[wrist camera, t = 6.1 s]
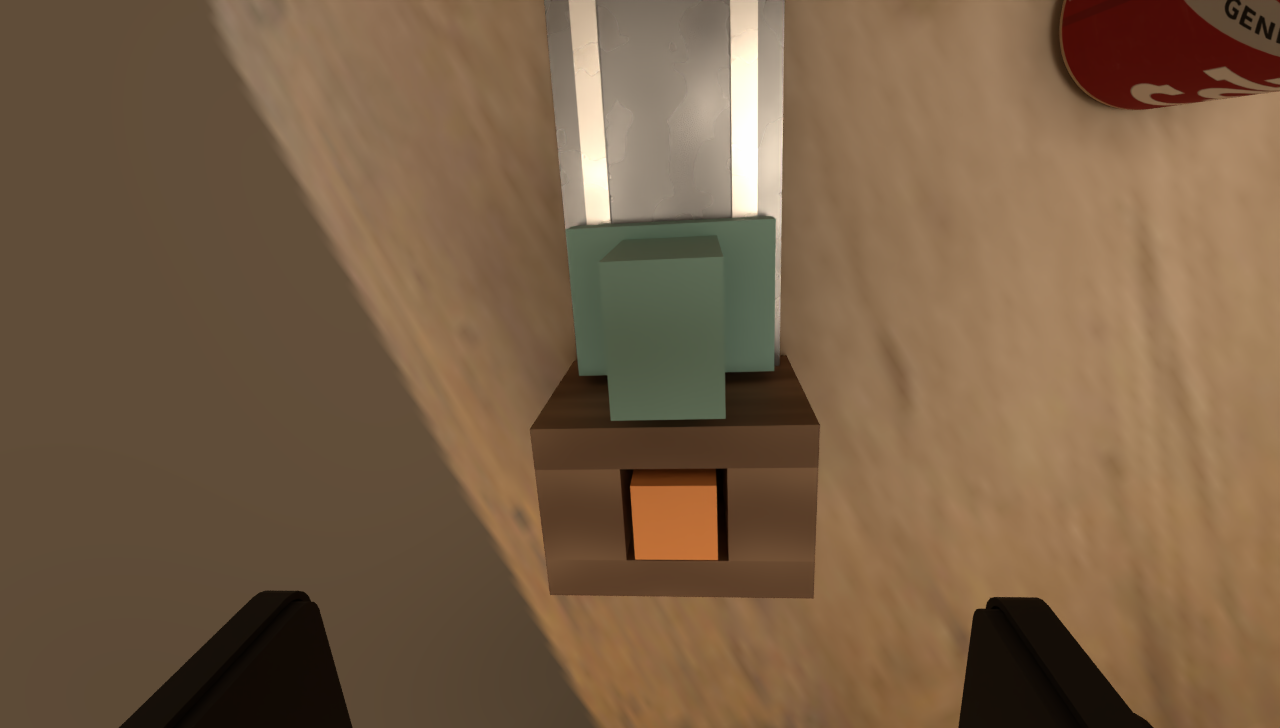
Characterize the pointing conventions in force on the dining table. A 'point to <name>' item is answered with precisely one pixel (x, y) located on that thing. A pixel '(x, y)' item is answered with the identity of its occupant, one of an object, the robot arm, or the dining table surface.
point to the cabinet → (736, 447)
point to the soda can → (1171, 50)
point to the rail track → (669, 111)
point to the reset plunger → (674, 514)
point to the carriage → (673, 311)
